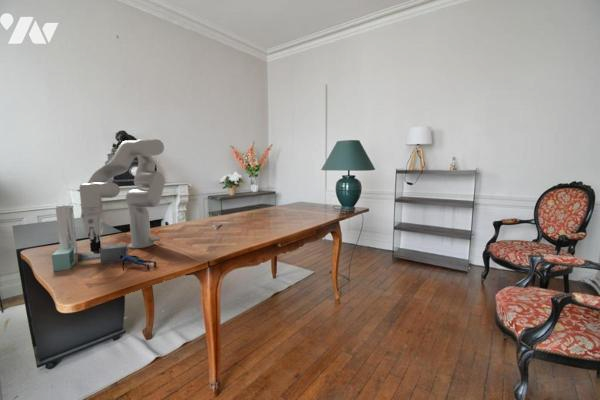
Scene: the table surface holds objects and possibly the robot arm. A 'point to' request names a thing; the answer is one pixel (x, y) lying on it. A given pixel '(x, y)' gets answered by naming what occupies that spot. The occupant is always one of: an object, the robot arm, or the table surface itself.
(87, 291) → the table surface
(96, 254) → the slip tube
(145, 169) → the robot arm
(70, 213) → the grey cylinder
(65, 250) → the socket block
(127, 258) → the person figurine
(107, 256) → the sleeve
